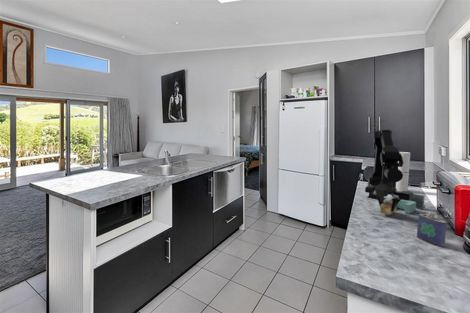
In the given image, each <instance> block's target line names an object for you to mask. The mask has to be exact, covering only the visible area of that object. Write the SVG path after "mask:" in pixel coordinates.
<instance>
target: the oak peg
mask: <svg viewBox="0 0 470 313" xmlns="http://www.w3.org/2000/svg"><path fill="white" fill-rule="evenodd" d="M391 208H392V201H390V200H387V201H385V202H384V203H382V204H381V208H380V209H379V210H380V212H379V213H381V214H384V215H392V214H394V212H396V211H397V210H398V208H397V206H396V208H395V209H394V211H393V212H392V211H391Z"/></svg>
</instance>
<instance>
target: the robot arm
mask: <svg viewBox="0 0 470 313" xmlns="http://www.w3.org/2000/svg"><path fill="white" fill-rule="evenodd" d="M371 139H372V142H373V143H374V146H375V152H374V153H375V154H374V164H373V170H372V171H371V172H370V174H369V177H368V179H367V185H366V186H365V189H364V193H368V196H367V198H369V199H375V200H377V202H378V204H379V207H380V209H381V204H382V203H384V199H385V197H387V196H389V195H390V196H392V195H394V198H392V208H391V211H392V212H393V211H394V209H395V208H396V206H397V204H398V203H399V201H400V200H406V201H410V200H412V199H414V194H415V193H413V192H412V191H402V192H396V191H397V188H396V182H398V181H400V180H401V179H402V178H403V174H402V172H401V171H400V170H399V169H398V167H402V165H403V158H402V156H401V153H400V152H401V151H400V150H399V148H397V147H395V144H394V142H393V131H392V130H391V129H379V130H375V131H374V132H372V138H371ZM398 161H399V163H398ZM394 212H395V211H394ZM394 212H393V213H394Z"/></svg>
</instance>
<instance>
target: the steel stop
mask: <svg viewBox="0 0 470 313" xmlns="http://www.w3.org/2000/svg"><path fill="white" fill-rule="evenodd" d="M396 192H402V191H396ZM413 194H414V199H412V200H410V201H414V202H416V210H420V211H422V210H425V209H426V206H425V195H423V194H418V193H413ZM391 197H394V195H391Z"/></svg>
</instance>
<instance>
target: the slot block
mask: <svg viewBox="0 0 470 313" xmlns="http://www.w3.org/2000/svg"><path fill="white" fill-rule="evenodd" d="M392 198H394V197H392V196H390V197H387V198H384V202H385V201H387V200H390V201H392ZM397 209H401V210H404V213H406V214H411V213H414V212H415V211H416V210H417V209H416V202H414V201H406V200H400V201H399V203H398V204H397Z"/></svg>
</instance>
